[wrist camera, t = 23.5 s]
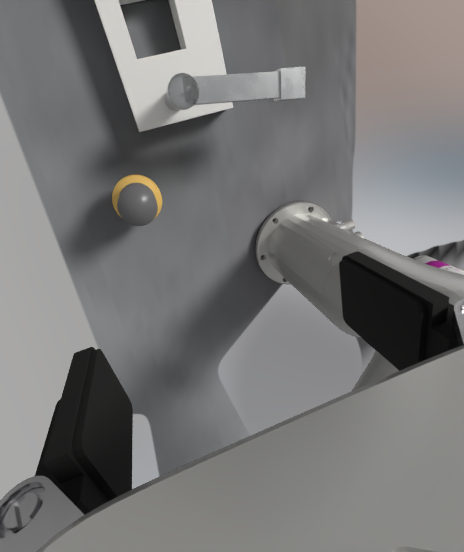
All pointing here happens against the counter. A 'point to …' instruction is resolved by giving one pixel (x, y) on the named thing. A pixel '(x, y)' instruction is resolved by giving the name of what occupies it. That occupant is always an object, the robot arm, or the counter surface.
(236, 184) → the counter surface
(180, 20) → the socket block
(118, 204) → the plug
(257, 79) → the clip
